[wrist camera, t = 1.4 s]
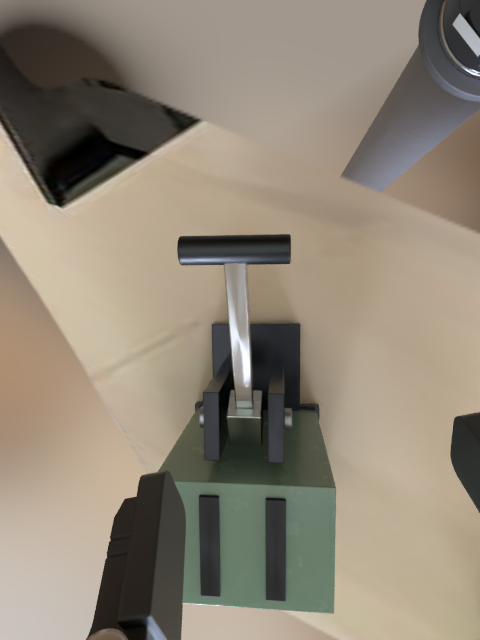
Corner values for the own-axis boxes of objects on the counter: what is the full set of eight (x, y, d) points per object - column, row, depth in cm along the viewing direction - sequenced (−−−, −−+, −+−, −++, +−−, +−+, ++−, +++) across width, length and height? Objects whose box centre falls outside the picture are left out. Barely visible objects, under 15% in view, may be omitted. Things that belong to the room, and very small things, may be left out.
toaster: (196, 401, 40) (145, 477, 25) (318, 404, 39) (341, 485, 24) (198, 486, 41) (150, 609, 26) (317, 491, 40) (339, 622, 25)
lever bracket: (213, 322, 39) (177, 347, 26) (299, 322, 38) (309, 348, 25) (215, 425, 40) (181, 501, 27) (299, 427, 39) (308, 507, 26)
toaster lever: (183, 228, 22) (173, 247, 20) (290, 226, 21) (291, 245, 19) (209, 418, 29) (204, 445, 27) (287, 419, 29) (288, 447, 27)
